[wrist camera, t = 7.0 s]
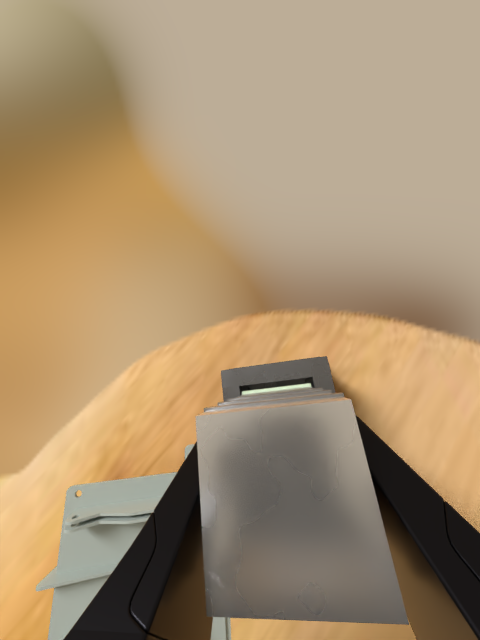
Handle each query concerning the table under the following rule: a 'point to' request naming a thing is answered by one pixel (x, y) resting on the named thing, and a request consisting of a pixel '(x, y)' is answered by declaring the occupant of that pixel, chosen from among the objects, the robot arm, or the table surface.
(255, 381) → the collar
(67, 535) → the metal bracket
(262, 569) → the column
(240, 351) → the table surface
